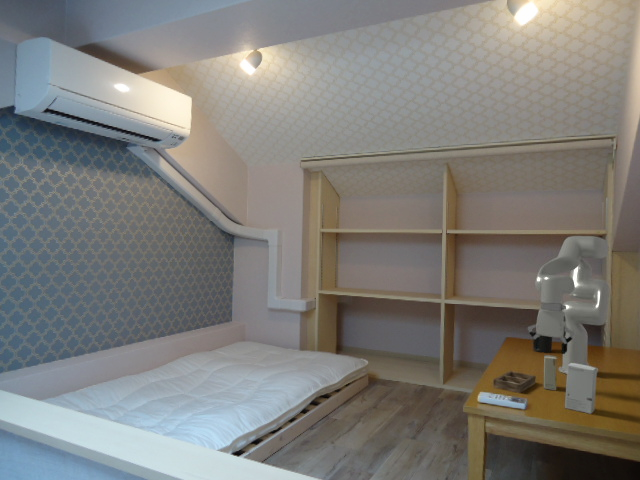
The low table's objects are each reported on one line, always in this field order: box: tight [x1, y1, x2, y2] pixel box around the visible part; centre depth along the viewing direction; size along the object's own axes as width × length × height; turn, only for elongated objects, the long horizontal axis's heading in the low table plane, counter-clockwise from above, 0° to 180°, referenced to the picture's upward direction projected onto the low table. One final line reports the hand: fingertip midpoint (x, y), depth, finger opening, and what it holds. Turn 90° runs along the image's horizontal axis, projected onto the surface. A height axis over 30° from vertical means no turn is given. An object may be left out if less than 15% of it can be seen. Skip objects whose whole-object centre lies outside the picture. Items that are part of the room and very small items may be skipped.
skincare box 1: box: [543, 354, 558, 391], centre depth 184 cm, size 6×4×12 cm
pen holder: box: [532, 331, 553, 354], centre depth 251 cm, size 9×9×10 cm
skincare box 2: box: [564, 363, 598, 415], centre depth 160 cm, size 8×6×15 cm
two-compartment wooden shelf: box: [493, 370, 536, 394], centre depth 186 cm, size 10×18×3 cm, turn 138°
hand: (550, 351), depth 184 cm, fingers open, 9 cm apart
